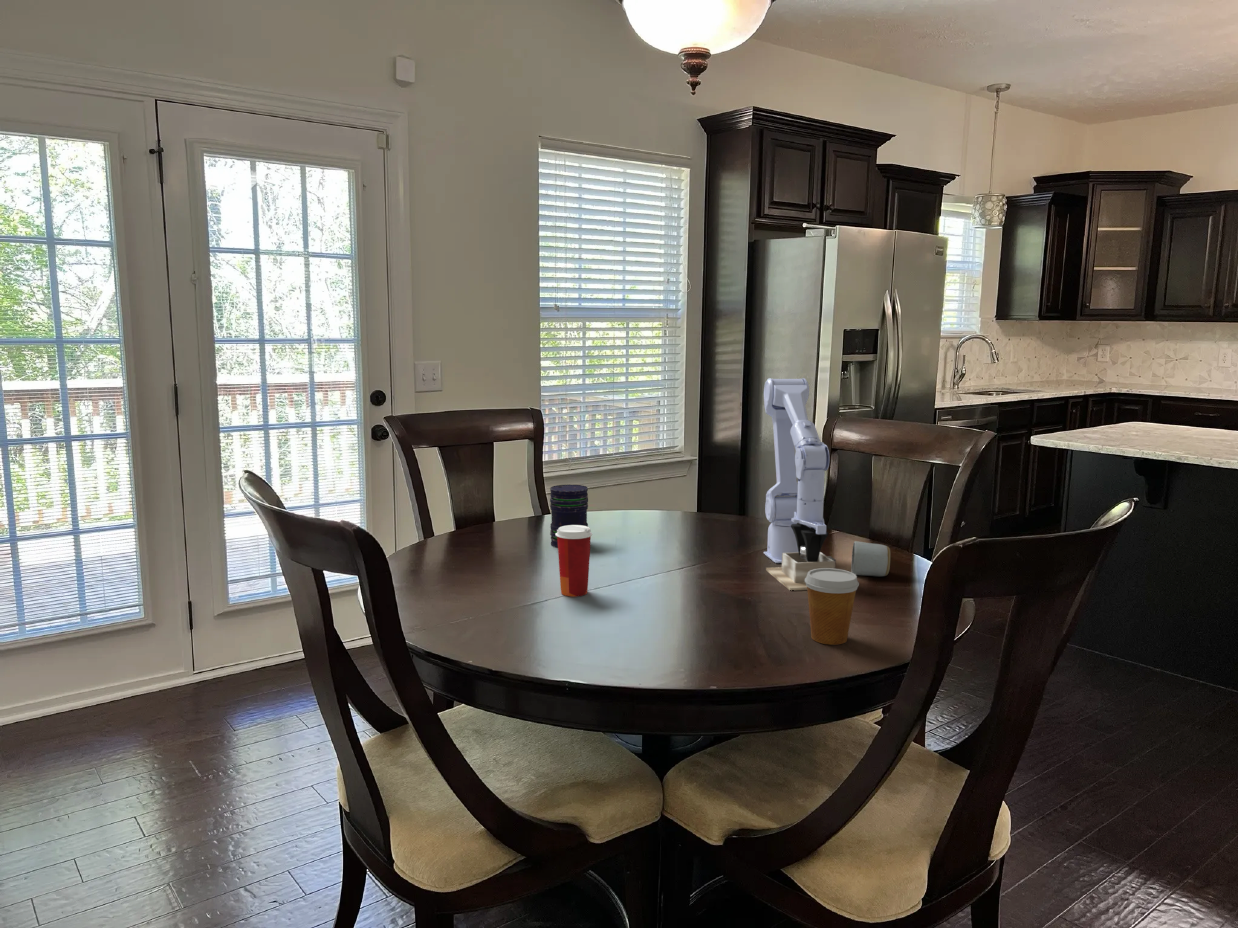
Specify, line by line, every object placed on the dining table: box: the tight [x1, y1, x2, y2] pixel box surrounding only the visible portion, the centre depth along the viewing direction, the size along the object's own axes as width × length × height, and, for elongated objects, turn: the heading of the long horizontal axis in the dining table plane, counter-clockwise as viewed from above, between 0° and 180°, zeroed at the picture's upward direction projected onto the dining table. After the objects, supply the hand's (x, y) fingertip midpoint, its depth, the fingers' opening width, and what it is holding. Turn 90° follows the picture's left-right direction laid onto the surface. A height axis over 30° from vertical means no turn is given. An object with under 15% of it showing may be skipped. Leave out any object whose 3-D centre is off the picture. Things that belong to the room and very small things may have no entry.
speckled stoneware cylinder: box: [850, 540, 891, 577], centre depth 198 cm, size 11×8×8 cm
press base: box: [765, 551, 837, 591], centre depth 193 cm, size 16×14×5 cm
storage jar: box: [549, 484, 589, 549], centre depth 223 cm, size 10×10×15 cm
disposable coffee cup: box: [805, 568, 860, 646], centre depth 155 cm, size 10×10×12 cm
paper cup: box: [555, 525, 593, 598], centre depth 181 cm, size 8×8×14 cm
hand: (808, 558), depth 193 cm, fingers open, 4 cm apart
